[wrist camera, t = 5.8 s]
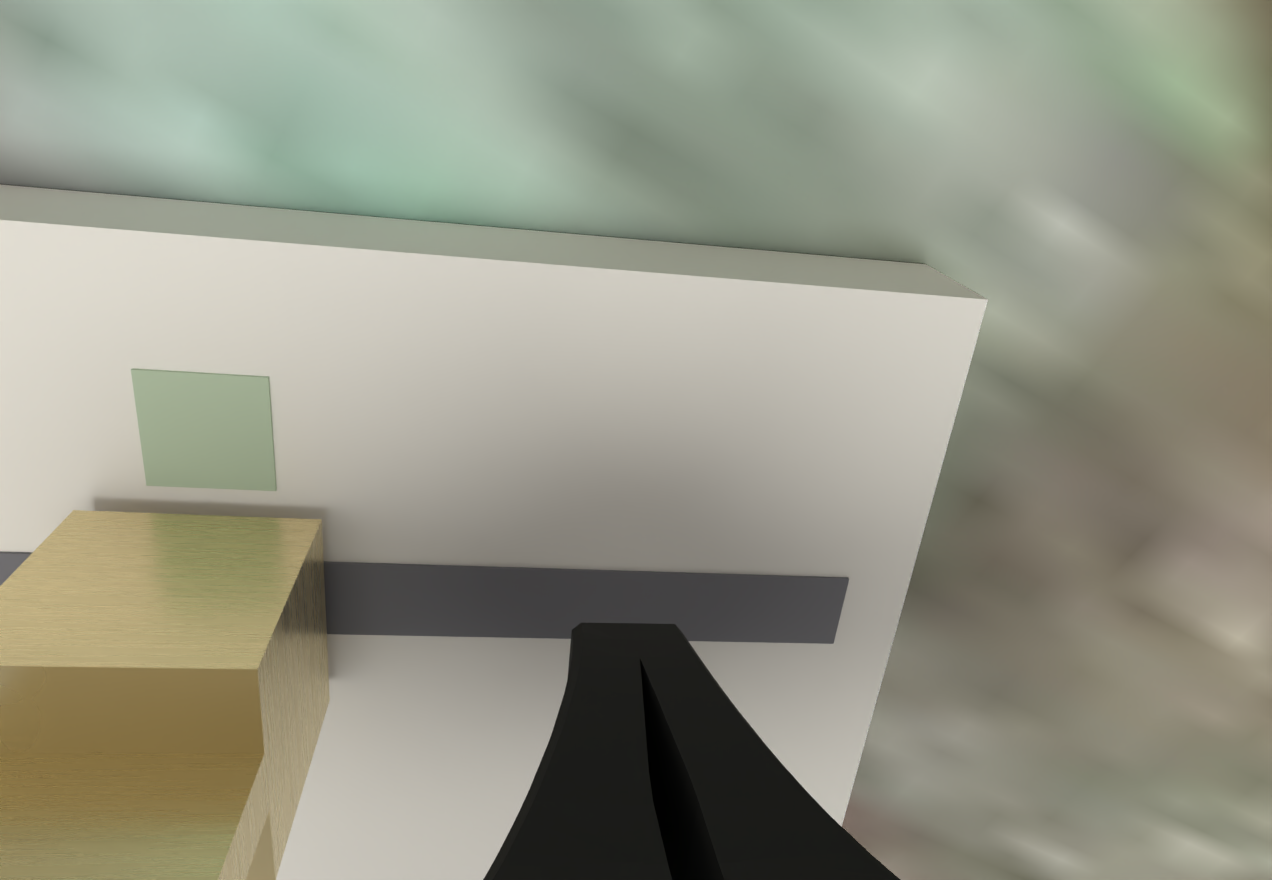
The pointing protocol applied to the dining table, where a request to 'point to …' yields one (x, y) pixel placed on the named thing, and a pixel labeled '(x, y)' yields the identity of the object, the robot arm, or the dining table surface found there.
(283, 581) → the brass slider
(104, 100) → the dining table surface
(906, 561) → the control board
